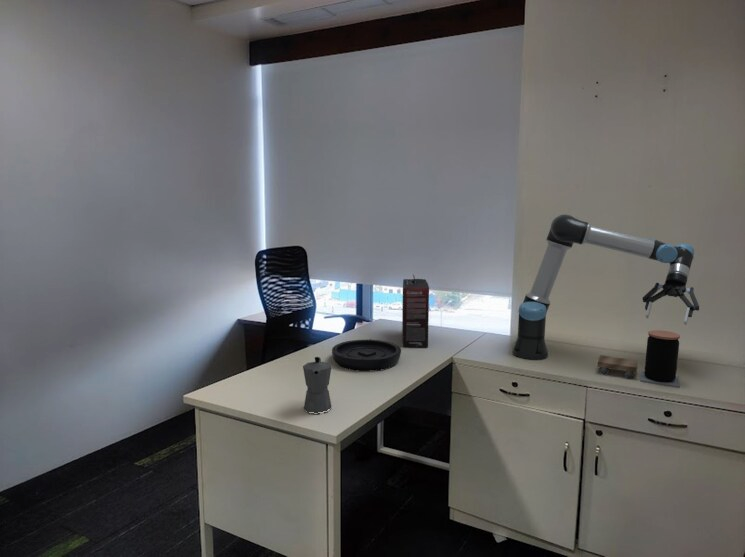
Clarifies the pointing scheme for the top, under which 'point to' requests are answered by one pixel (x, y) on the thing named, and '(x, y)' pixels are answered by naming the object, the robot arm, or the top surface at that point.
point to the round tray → (366, 354)
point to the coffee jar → (661, 356)
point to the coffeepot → (317, 386)
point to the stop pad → (673, 383)
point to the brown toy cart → (617, 365)
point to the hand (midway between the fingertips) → (665, 319)
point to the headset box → (415, 312)
